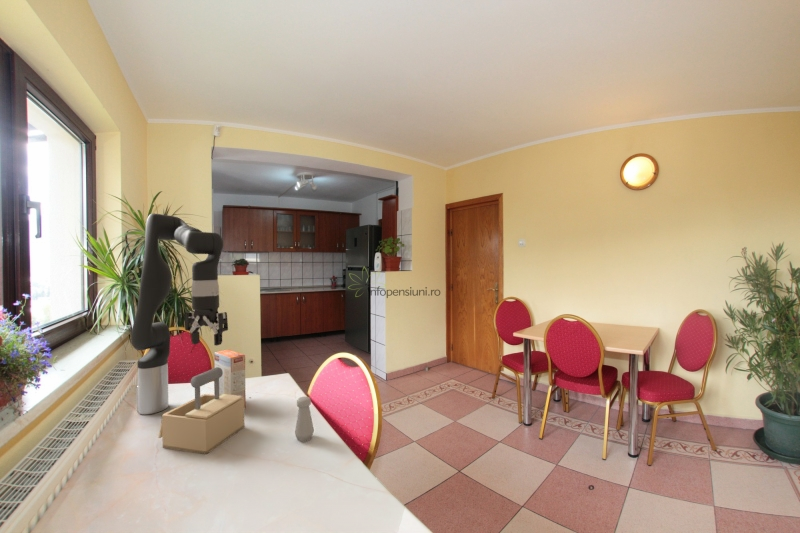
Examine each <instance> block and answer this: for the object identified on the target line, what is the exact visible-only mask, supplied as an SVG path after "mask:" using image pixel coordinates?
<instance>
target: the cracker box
mask: <svg viewBox="0 0 800 533" xmlns="http://www.w3.org/2000/svg"><path fill="white" fill-rule="evenodd" d="M216 367H219V368H221V369H222V371H223V374H222V376H221V377H220V378H219V396H220V395H222V394H228V395H237V396H243V398H244V409H245V408H246V404H247V403H246V402H247V401H246V400H247V399H246V396H247V395H246V354H243V353H240V352H238V351H234V350H231V349H225V350H220V351H216V352H214V368H216Z"/></svg>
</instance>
